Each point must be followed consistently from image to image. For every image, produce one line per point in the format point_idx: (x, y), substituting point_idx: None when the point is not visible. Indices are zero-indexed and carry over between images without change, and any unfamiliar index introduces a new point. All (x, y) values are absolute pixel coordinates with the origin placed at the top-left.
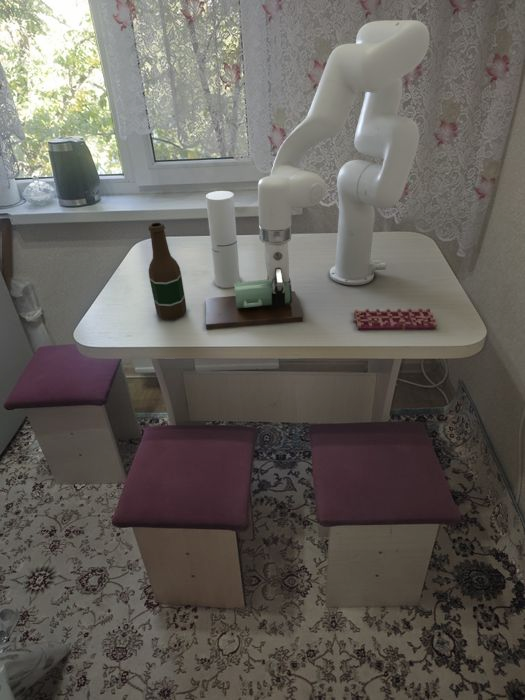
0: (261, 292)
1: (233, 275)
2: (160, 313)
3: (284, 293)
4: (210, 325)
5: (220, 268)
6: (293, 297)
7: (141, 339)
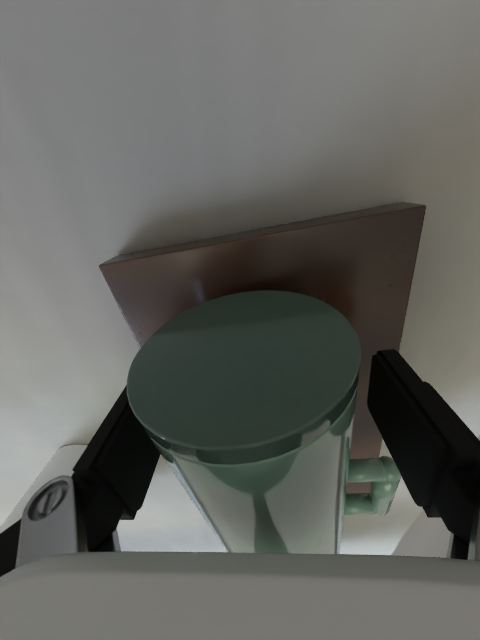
0: (342, 511)
1: None
2: None
3: (468, 439)
4: None
5: None
6: (178, 272)
7: (369, 552)
